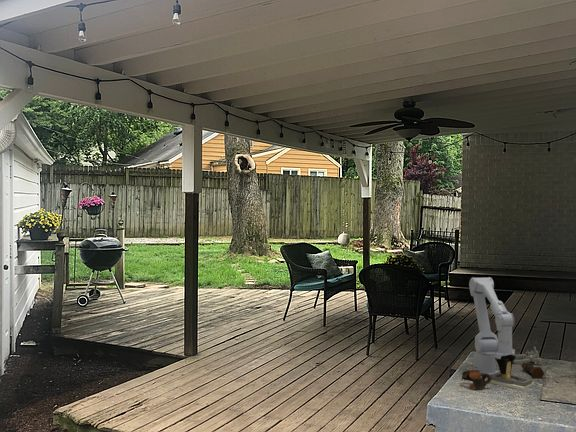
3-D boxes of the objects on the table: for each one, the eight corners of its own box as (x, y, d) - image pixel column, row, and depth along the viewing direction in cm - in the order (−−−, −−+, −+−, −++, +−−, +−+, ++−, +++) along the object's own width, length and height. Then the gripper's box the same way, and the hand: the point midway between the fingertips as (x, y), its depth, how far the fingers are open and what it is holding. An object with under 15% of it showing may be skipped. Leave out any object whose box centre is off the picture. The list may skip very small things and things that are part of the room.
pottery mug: (463, 391, 224) (458, 371, 228) (466, 395, 232) (461, 376, 236) (493, 386, 220) (487, 366, 225) (495, 390, 228) (490, 371, 232)
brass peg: (499, 379, 234) (499, 361, 234) (503, 377, 237) (503, 359, 237) (508, 381, 231) (508, 362, 232) (512, 379, 234) (512, 361, 234)
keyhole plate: (488, 382, 234) (488, 376, 234) (500, 377, 242) (500, 371, 242) (522, 389, 223) (522, 383, 223) (533, 384, 231) (533, 378, 231)
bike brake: (539, 358, 274) (497, 361, 280) (537, 344, 274) (495, 348, 280) (542, 365, 261) (499, 368, 267) (540, 351, 261) (497, 354, 268)
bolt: (526, 373, 255) (539, 381, 240) (517, 368, 255) (529, 376, 240) (532, 363, 255) (546, 370, 240) (523, 357, 255) (536, 364, 240)
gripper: (506, 345, 227) (506, 377, 227) (521, 340, 237) (521, 371, 236) (490, 342, 232) (490, 374, 232) (505, 337, 242) (506, 368, 242)
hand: (505, 372), depth 234 cm, fingers closed on brass peg, 4 cm apart
